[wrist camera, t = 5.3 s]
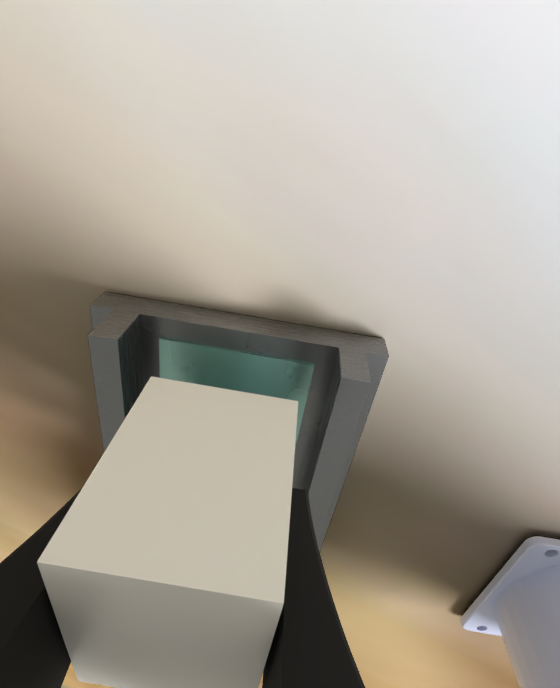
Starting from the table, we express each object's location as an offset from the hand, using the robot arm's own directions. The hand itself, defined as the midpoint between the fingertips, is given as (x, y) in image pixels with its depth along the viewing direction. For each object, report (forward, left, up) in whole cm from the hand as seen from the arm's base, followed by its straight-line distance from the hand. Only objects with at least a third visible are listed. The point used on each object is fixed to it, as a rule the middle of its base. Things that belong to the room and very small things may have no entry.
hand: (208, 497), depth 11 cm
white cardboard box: (0, 0, -1) cm, 1 cm away
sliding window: (0, +3, -4) cm, 5 cm away
